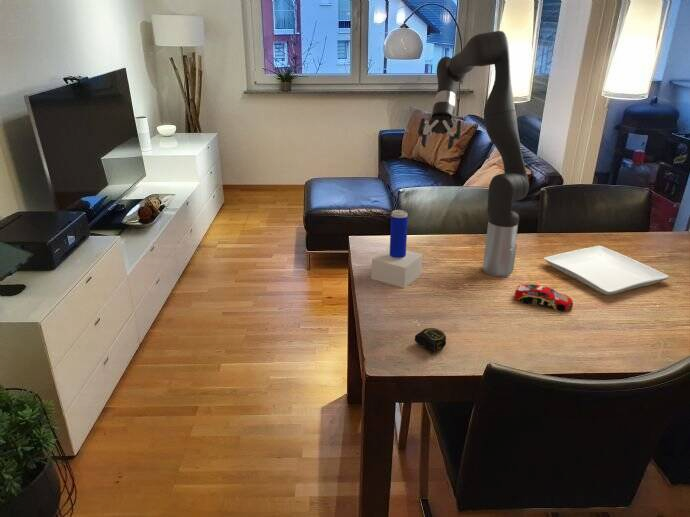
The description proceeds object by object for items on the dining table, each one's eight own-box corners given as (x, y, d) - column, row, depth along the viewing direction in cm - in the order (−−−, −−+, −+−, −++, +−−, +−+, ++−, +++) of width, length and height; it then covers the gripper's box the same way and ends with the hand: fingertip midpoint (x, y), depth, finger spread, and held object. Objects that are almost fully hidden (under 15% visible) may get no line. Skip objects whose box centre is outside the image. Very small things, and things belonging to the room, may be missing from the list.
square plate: (606, 303, 156) (609, 291, 154) (540, 266, 179) (542, 256, 177) (668, 285, 166) (671, 274, 165) (598, 253, 189) (600, 243, 187)
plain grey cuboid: (421, 273, 173) (422, 254, 170) (404, 288, 164) (405, 267, 161) (389, 265, 179) (390, 246, 176) (371, 278, 170) (371, 259, 167)
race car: (573, 304, 155) (576, 290, 153) (570, 315, 150) (573, 299, 147) (516, 292, 162) (519, 278, 160) (512, 301, 156) (514, 287, 154)
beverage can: (405, 253, 171) (407, 209, 164) (405, 260, 166) (408, 215, 160) (389, 252, 171) (391, 209, 165) (389, 259, 166) (391, 214, 160)
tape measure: (412, 344, 136) (413, 332, 134) (432, 336, 139) (433, 324, 138) (431, 357, 131) (432, 344, 129) (451, 348, 134) (452, 336, 133)
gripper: (423, 99, 182) (414, 139, 177) (464, 101, 178) (457, 142, 173) (424, 113, 189) (416, 151, 184) (464, 115, 185) (457, 154, 180)
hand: (436, 147), depth 179 cm, fingers open, 8 cm apart
